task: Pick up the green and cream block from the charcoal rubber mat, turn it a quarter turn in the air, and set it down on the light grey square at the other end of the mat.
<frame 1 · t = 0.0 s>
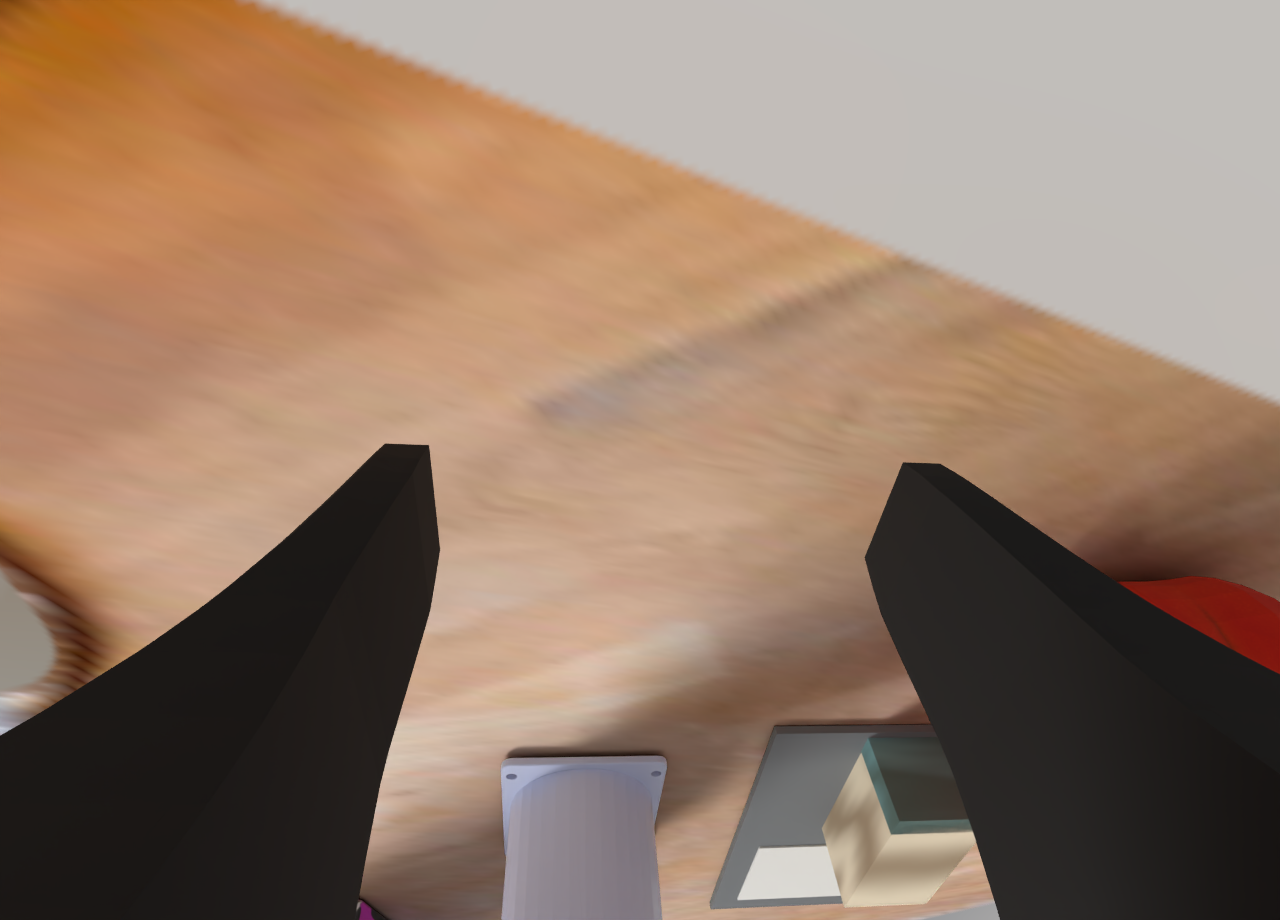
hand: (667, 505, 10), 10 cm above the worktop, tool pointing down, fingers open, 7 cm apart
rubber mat: (854, 824, 39), on the worktop
green and cream block: (883, 785, 36), resting on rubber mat
tomato: (1094, 630, 30), on the worktop
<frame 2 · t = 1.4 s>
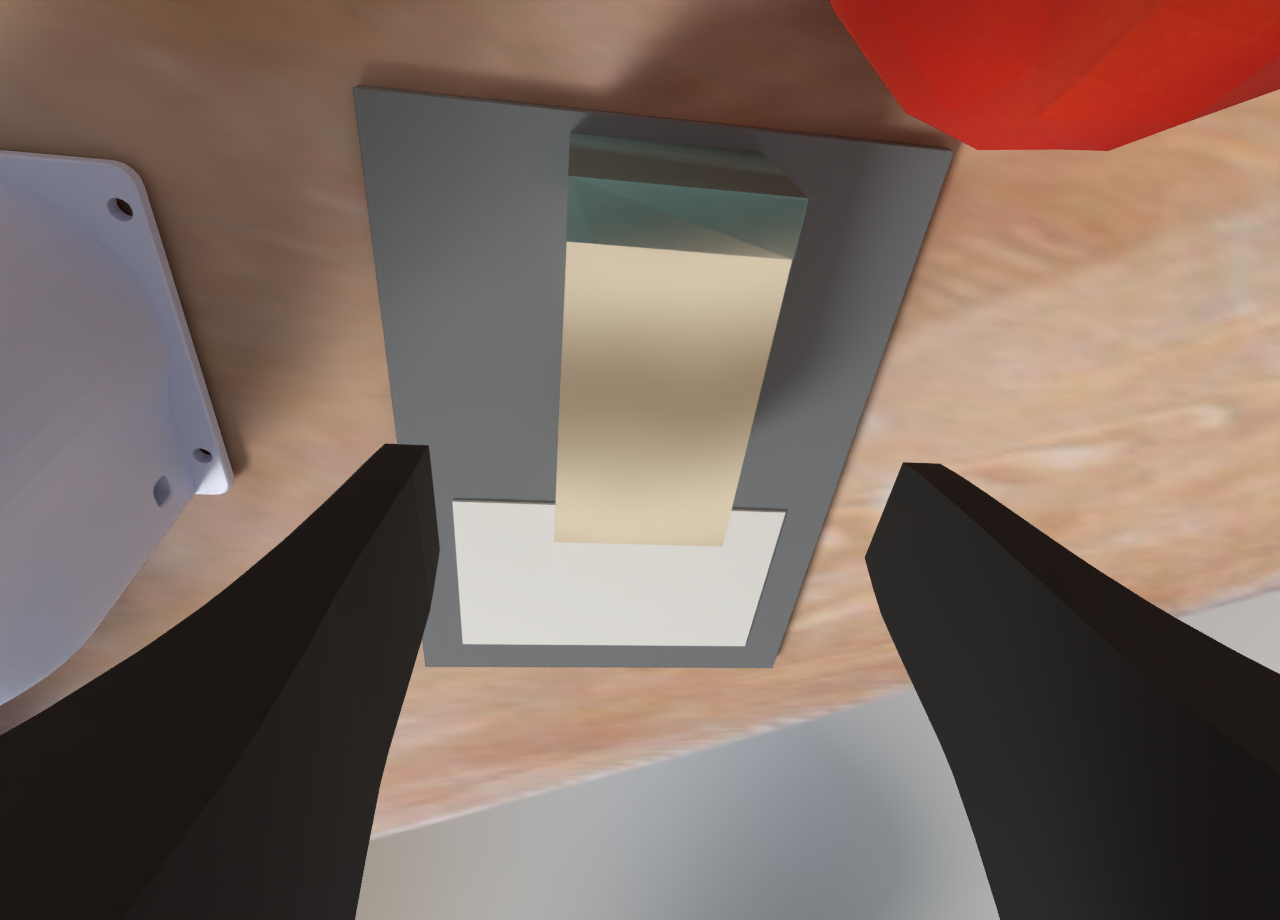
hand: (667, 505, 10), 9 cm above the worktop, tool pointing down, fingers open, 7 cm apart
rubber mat: (627, 461, 22), on the worktop
green and cream block: (646, 322, 18), resting on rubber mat
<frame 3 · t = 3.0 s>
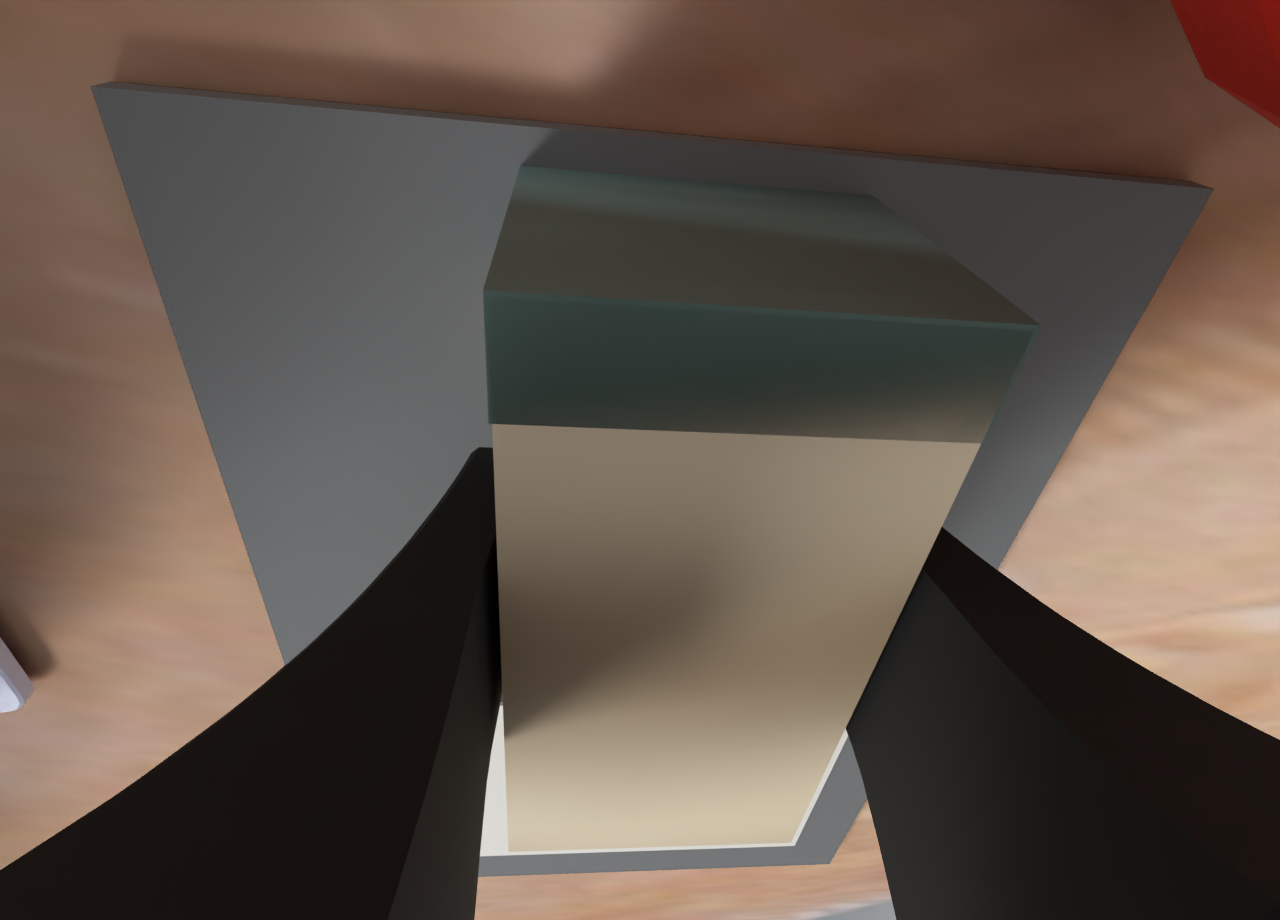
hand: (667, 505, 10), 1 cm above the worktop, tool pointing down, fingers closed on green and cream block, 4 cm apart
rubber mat: (632, 642, 14), on the worktop
green and cream block: (660, 467, 11), resting on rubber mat, touching gripper
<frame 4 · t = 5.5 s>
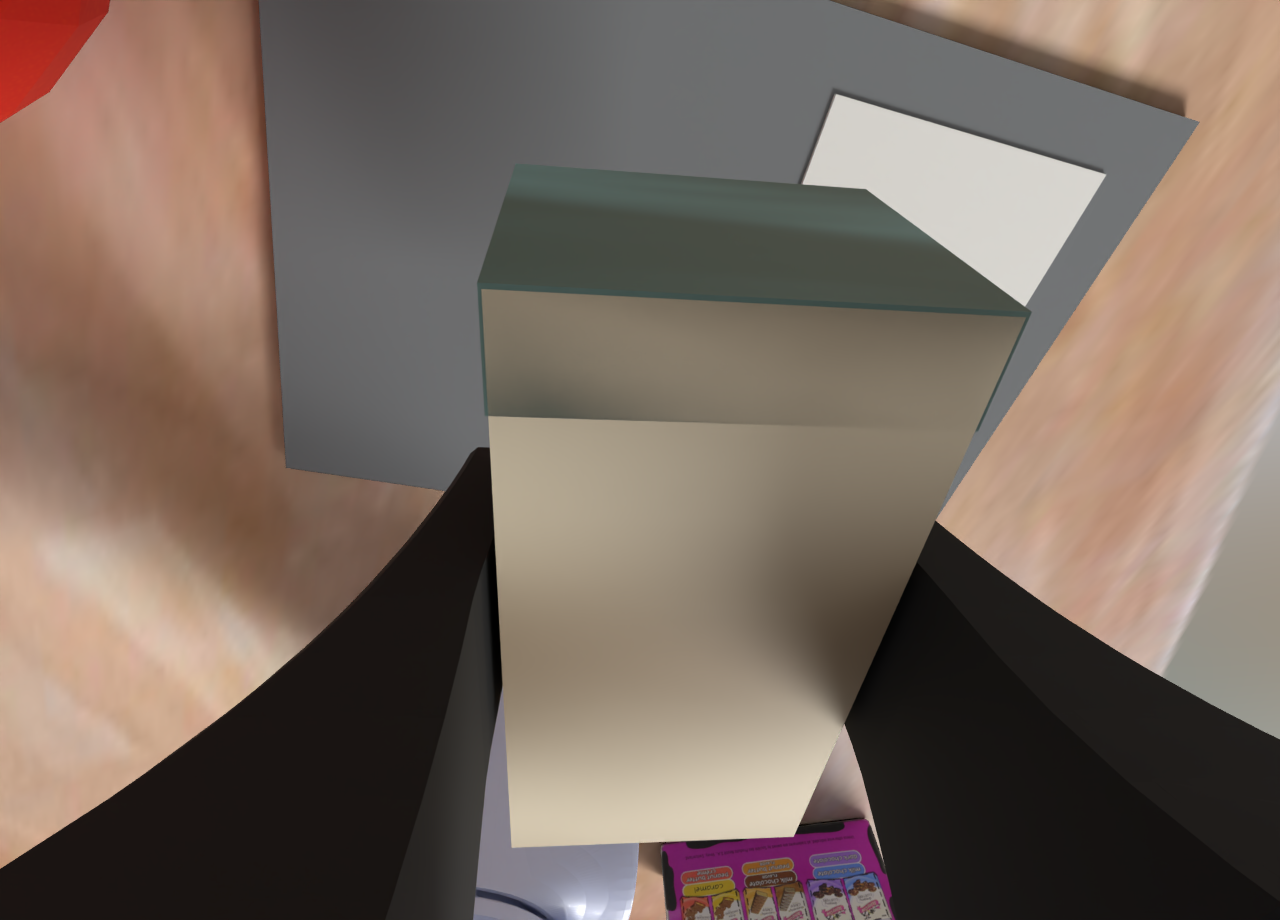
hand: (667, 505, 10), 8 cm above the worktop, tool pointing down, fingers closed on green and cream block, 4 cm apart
candy bar box: (762, 845, 36), on the worktop
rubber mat: (691, 307, 17), on the worktop
green and cream block: (659, 463, 11), point 7 cm above the worktop, touching gripper
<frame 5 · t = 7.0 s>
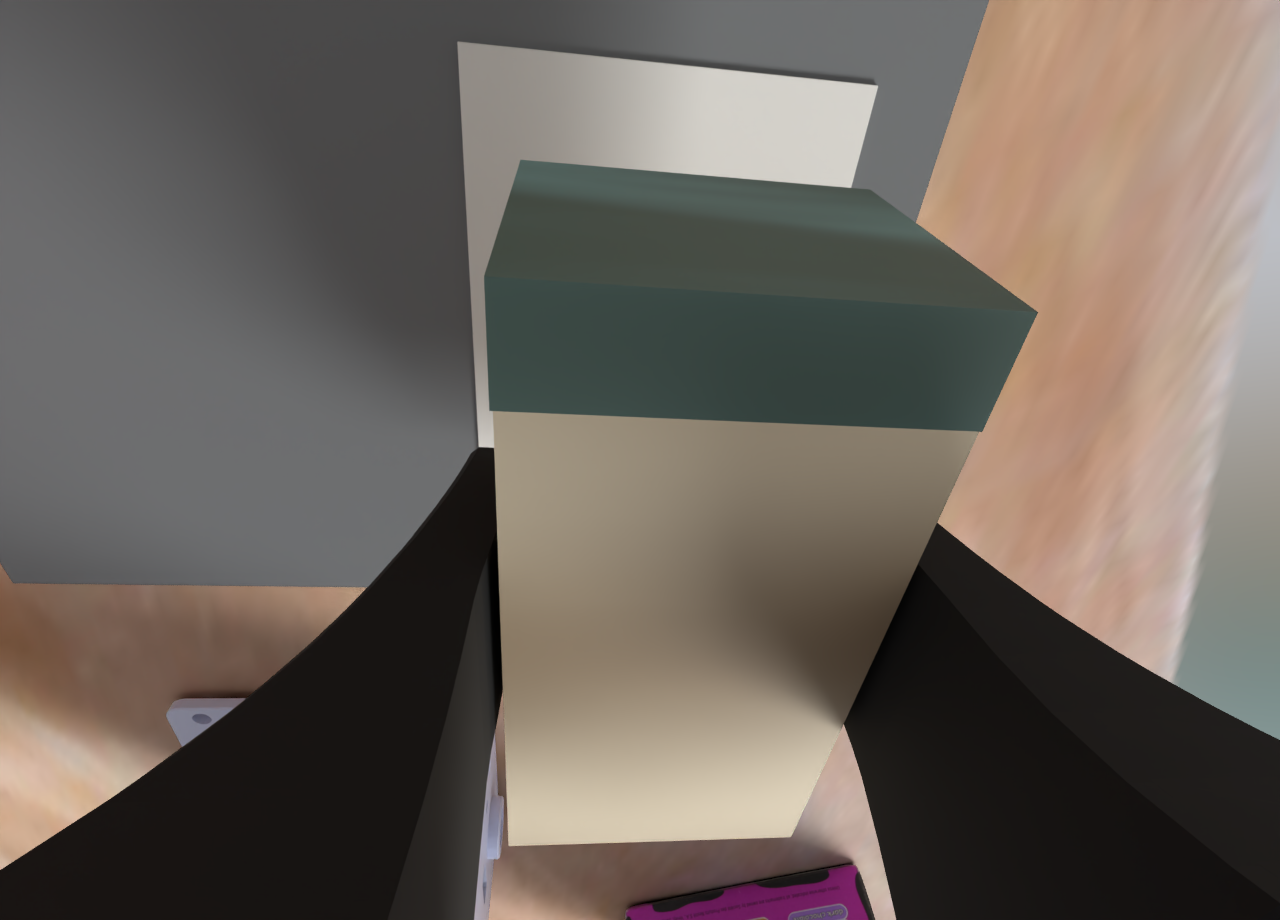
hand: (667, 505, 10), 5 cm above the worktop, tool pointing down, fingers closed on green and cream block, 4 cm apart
candy bar box: (746, 897, 33), on the worktop
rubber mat: (403, 340, 14), on the worktop
green and cream block: (660, 462, 11), point 4 cm above the worktop, touching gripper
when the fingers open (3 cm above the worktop, at t = 8.1 s): green and cream block stays where it is, resting on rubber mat.
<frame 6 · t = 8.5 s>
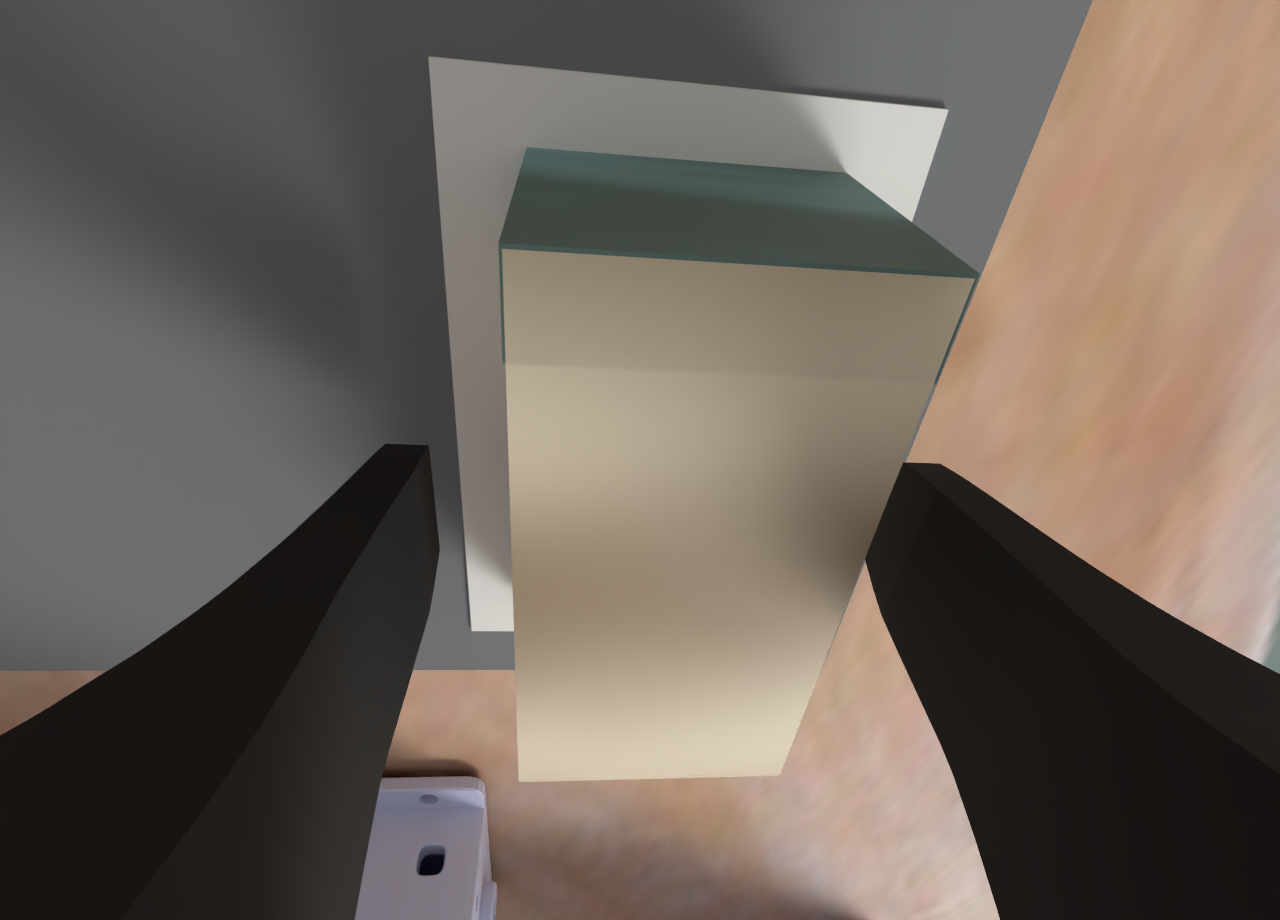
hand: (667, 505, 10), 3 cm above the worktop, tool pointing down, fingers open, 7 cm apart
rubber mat: (373, 403, 12), on the worktop
green and cream block: (657, 430, 12), resting on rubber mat
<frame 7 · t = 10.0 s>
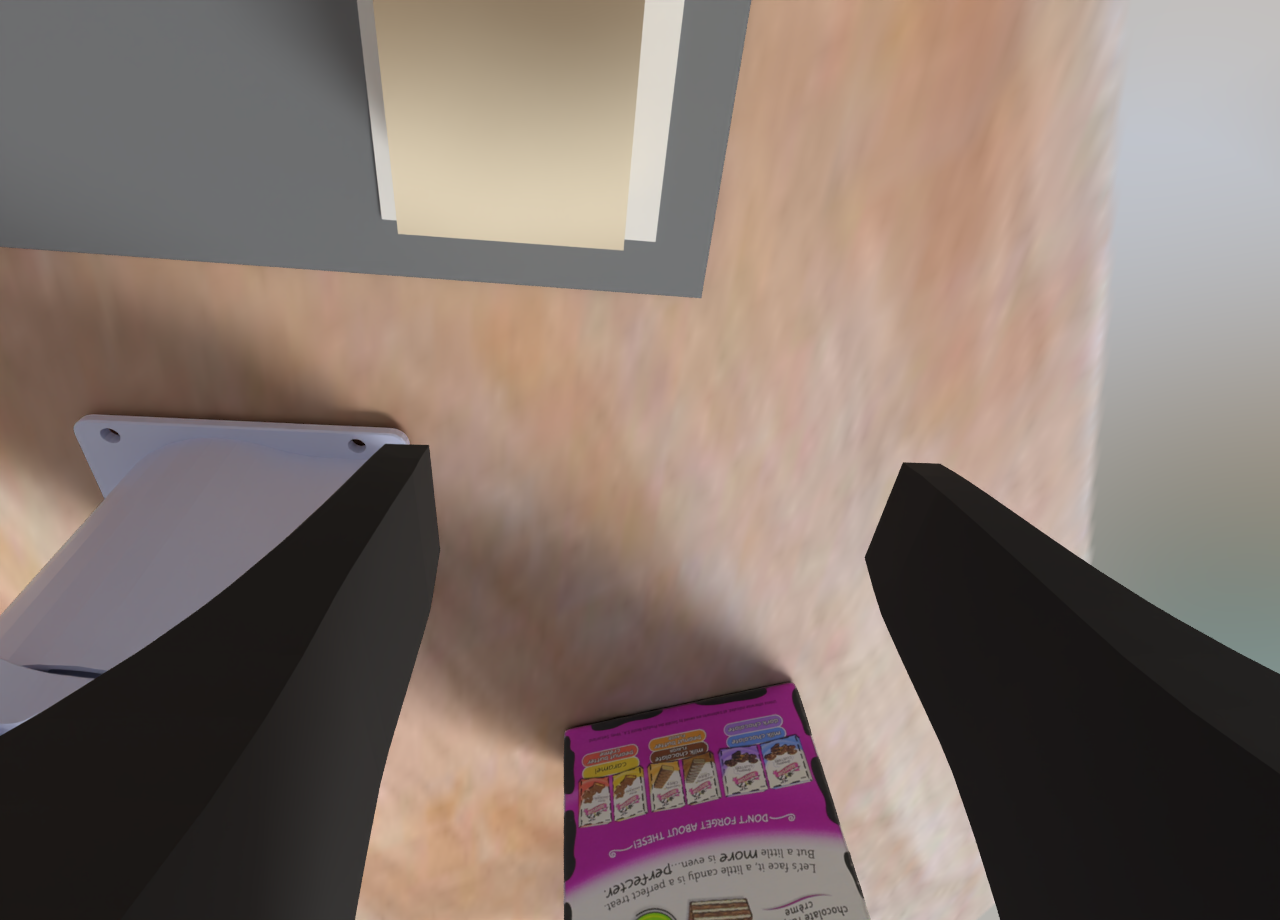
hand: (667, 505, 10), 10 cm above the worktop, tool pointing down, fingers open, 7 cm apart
candy bar box: (687, 726, 33), on the worktop
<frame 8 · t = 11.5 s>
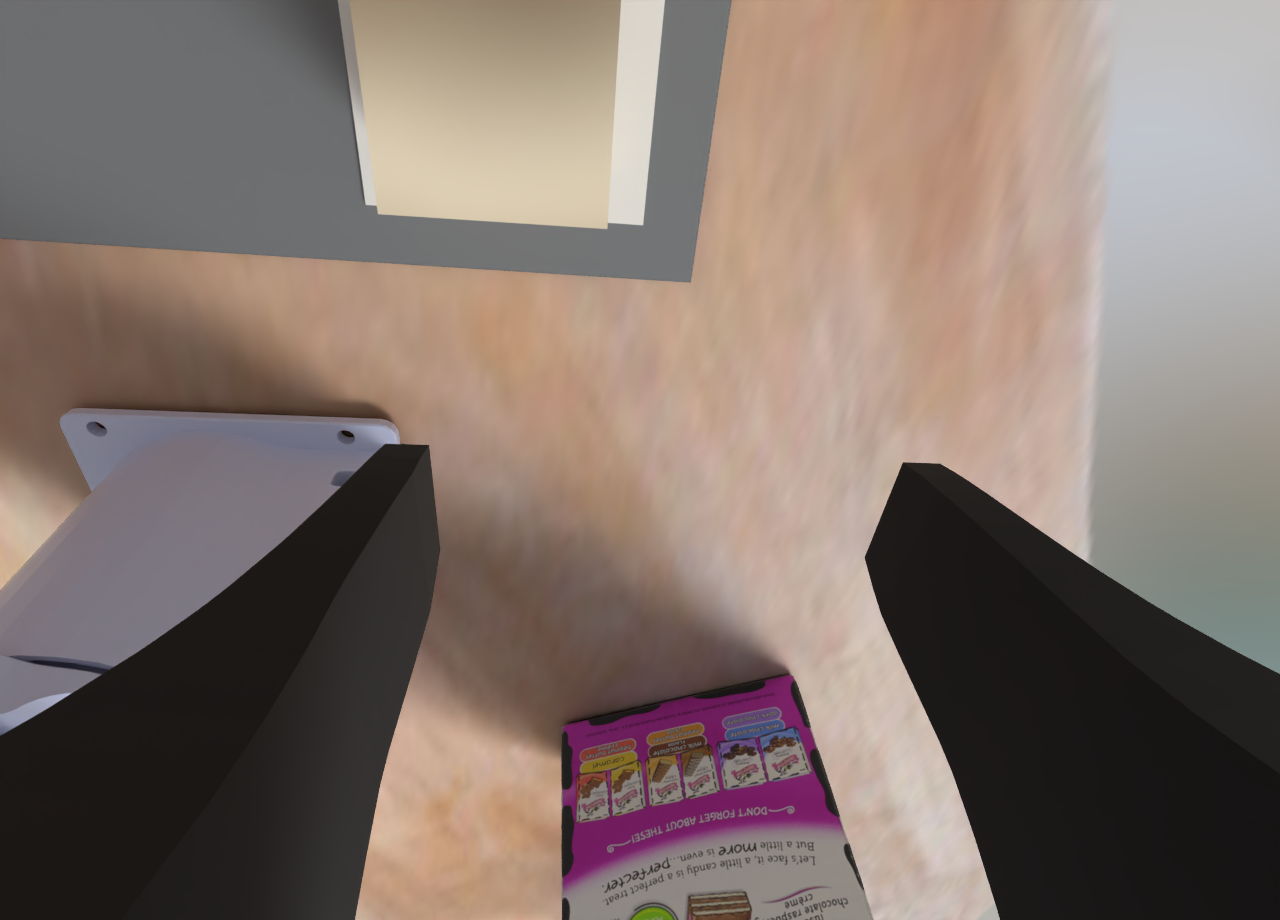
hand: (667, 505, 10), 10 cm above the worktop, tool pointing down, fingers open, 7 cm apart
candy bar box: (686, 721, 32), on the worktop
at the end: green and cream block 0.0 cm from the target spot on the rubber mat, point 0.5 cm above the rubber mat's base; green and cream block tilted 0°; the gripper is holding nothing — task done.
